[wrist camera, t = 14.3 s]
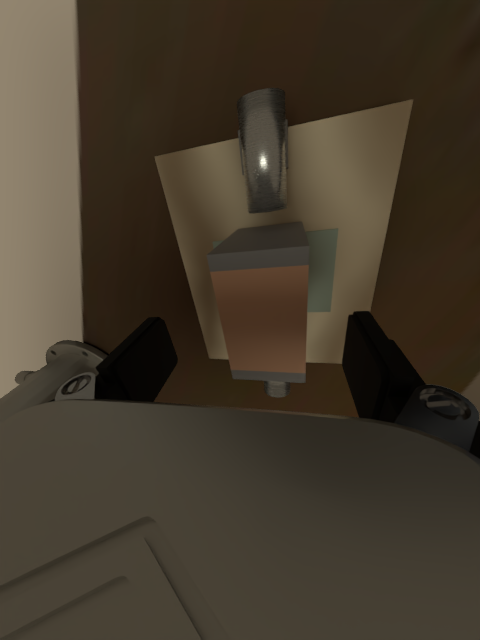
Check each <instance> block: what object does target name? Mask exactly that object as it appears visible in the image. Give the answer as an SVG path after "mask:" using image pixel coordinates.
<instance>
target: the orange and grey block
mask: <svg viewBox="0 0 480 640" xmlns="http://www.w3.org/2000/svg"><path fill="white" fill-rule="evenodd" d="M207 260H208V265H209V269H210V274H211V279H212V283H213V288H214V293H215V297H216V302H217V307H218V311H219V316H220V321H221V325H222V330H223V335H224V339H225V344H226V349H227V353H228V358H229V363H230V367H231V372H232V377H233V379H245V380H262V381H279V382H297V383H305V374H306V340H307V306H308V272H309V243H308V240H307V236H306V233H305V230H304V226H303V223H302V222H293V223H285V224H276V225H268V226H259V227H251V228H242V229H237V230H236V231H235V232H234V233H233V234H231V235H230V236H229V237H228V238H226V239H225V240H224V241H223V242H222V243H220V244H219V245H218V246H217V247H216V248H214V249H213V250H212V251H211V252H210V253H208V254H207Z"/></svg>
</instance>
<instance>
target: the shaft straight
mask: <svg viewBox="0 0 480 640" xmlns="http://www.w3.org/2000/svg"><path fill="white" fill-rule="evenodd" d="M237 111H238V120H239V130H240V140H241V149H242V159H243V169H244V178H245V188H246V198H247V207H248V213H263V212H271V211H277V210H281V209H285V208H287V178H286V134H285V92H284V90H282V89H279V88H267V89H261V90H257V91H254V92H251V93H248V94H246V95H244V96H243V97H241V98H240V99H239V100H238V101H237Z"/></svg>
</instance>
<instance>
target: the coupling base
mask: <svg viewBox="0 0 480 640" xmlns="http://www.w3.org/2000/svg"><path fill="white" fill-rule="evenodd" d="M412 103H413V99H412V100H408V101H403V102H399V103H394V104H390V105H385V106H381V107H376V108H372V109H367V110H363V111H358V112H354V113H349V114H345V115H340V116H336V117H331V118H327V119H322V120H318V121H313V122H309V123H304V124H300V125H295V126H290V127H288V121H287V119H286V120H285V134H286V178H287V208H285V209H281V210H277V211H271V212H263V213H248V207H247V198H246V188H245V178H244V169H243V159H242V149H241V140H240V130H238V138H236V139H232V140H227V141H223V142H218V143H214V144H209V145H205V146H200V147H196V148H191V149H187V150H182V151H178V152H173V153H169V154H164V155H160V156H155V161H156V164H157V168H158V172H159V175H160V179H161V183H162V186H163V190H164V194H165V197H166V201H167V205H168V208H169V212H170V216H171V219H172V223H173V227H174V230H175V234H176V238H177V241H178V245H179V249H180V252H181V256H182V260H183V263H184V267H185V271H186V274H187V278H188V282H189V285H190V289H191V293H192V296H193V300H194V304H195V307H196V311H197V315H198V318H199V322H200V326H201V329H202V333H203V337H204V340H205V344H206V348H207V351H208V355H209V359H229V358H228V353H227V349H226V344H225V339H224V335H223V330H222V325H221V321H220V316H219V311H218V307H217V302H216V297H215V293H214V288H213V283H212V279H211V274H210V269H209V265H208V260H207V254H208V253H210V252H211V251H212V250H213V249H214V248H216V247H217V246H218V245H219V244H220V243H222V242H223V241H224V240H225V239H226V238H228V237H229V236H230V235H231V234H233V233H234V232H235V231H236V230H237V229H242V228H251V227H259V226H268V225H276V224H285V223H293V222H302V223H303V226H304V230H305V233H306V236H307V240H308V243H309V272H308V306H307V340H306V362H315V363H342V357H343V350H344V343H345V336H346V329H347V322H348V316H349V315H353V312H354V311H369V312H370V309H371V305H372V300H373V295H374V290H375V285H376V280H377V275H378V270H379V265H380V260H381V255H382V250H383V245H384V241H385V236H386V231H387V226H388V221H389V216H390V211H391V206H392V201H393V196H394V191H395V186H396V182H397V177H398V172H399V167H400V162H401V157H402V152H403V147H404V142H405V137H406V132H407V127H408V122H409V118H410V113H411V108H412Z"/></svg>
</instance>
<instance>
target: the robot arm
mask: <svg viewBox="0 0 480 640" xmlns="http://www.w3.org/2000/svg"><path fill="white" fill-rule="evenodd" d="M46 361H47V365H46V366H44V367H43V368H42V369H40V370H38V371H36V372H33V371H22V372H20V373H18V374H17V375H16V377H15V381H16V382H17V383H18V384H20V385H19V386H17V387H16V388H15V389H13V390H12V391H10V392H9V393H8V394H6V395H5V396H4V397H2V398H1V399H0V640H480V421H479V412H478V410H477V409H476V407H475V406H474V405H473V404H472V403H471V402H470V401H469V400H468V399H467V398H465V397H464V396H463V395H461V394H459V393H457V392H455V391H453V390H451V389H449V388H445V387H442V386H438V385H432V384H431V385H426V384H425V383H424V381H423V380H422V378H421V377H420V376H419V374H418V373H417V372H416V370H415V369H414V368H413V366H412V365H411V363H410V362H409V361H408V359H407V358H406V357H405V355H404V354H403V352H402V351H401V350H400V348H399V347H398V346H397V344H396V343H395V342H394V341H393V340H391V339H390V340H389V339H388V338H387V336H386V335H385V333H384V332H383V330H382V329H381V328H380V326H379V325H378V323H377V322H376V320H375V319H374V318H373V316H372V315H371V313H370V312H369V311H354V312H353V315H349V316H348V322H347V329H346V336H345V343H344V350H343V357H342V366H343V370H344V373H345V376H346V379H347V382H348V385H349V388H350V391H351V394H352V397H353V400H354V403H355V406H356V409H357V412H358V415H359V418H357V417H349V416H339V415H328V414H316V413H304V412H291V411H277V410H264V409H250V408H236V407H221V406H207V405H191V404H176V403H160V402H153V401H154V400H155V398H156V397H157V395H158V393H159V392H160V390H161V389H162V387H163V385H164V384H165V382H166V380H167V379H168V377H169V376H170V374H171V372H172V371H173V369H174V367H175V366H176V364H177V361H178V358H177V355H176V352H175V349H174V346H173V344H172V341H171V338H170V335H169V333H168V330H167V327H166V324H165V322H164V320H162V319H161V318H160V317H150V318H147V319H146V320H145V321H144V322H143V323H142V324H141V325H140V326H139V327H138V328H137V329H136V330H135V331H134V332H133V333H132V334H130V335H129V336H128V337H127V338H126V339H125V340H124V341H123V342H122V343H121V344H120V345H119V346H118V347H117V348H116V349H115V350H113V351H112V352H111V353H110V354H109V355H106V354H105V353H103V352H102V351H100V350H98V349H96V348H95V347H93V346H90V345H88V344H85V343H82V342H78V341H71V340H66V341H60V342H57V343H56V344H54V345H53V346H51V347H50V348H49V349H48V350H47V353H46Z"/></svg>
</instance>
